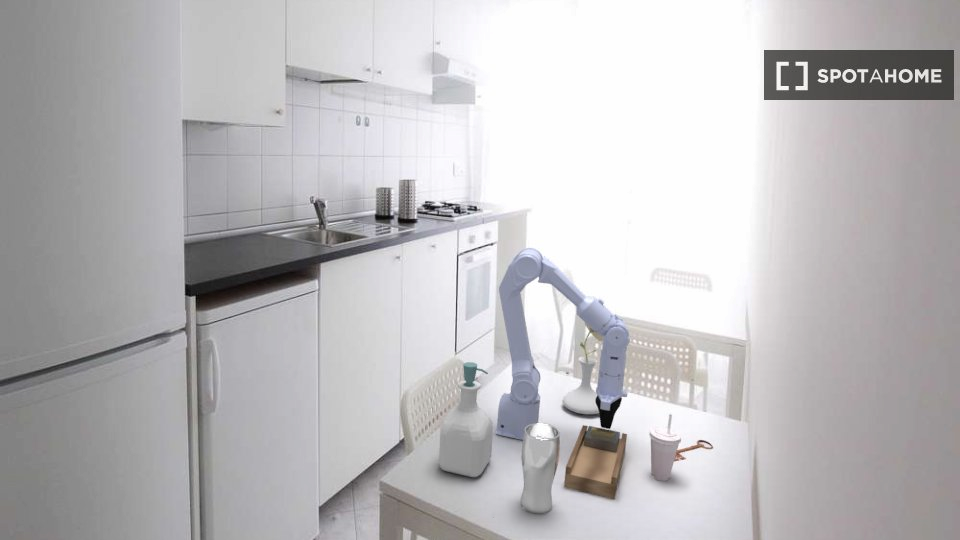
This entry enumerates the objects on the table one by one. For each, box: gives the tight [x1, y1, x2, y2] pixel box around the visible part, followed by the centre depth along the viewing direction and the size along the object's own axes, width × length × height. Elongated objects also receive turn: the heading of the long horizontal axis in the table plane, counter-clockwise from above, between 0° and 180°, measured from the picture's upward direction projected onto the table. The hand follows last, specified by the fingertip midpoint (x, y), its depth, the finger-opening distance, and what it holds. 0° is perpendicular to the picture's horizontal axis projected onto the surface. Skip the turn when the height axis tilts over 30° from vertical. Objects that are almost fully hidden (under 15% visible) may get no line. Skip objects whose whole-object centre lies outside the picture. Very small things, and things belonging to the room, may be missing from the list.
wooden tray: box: [563, 424, 628, 500], centre depth 122 cm, size 10×20×4 cm, turn 160°
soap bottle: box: [438, 361, 494, 478], centre depth 118 cm, size 10×10×23 cm
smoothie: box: [648, 413, 682, 481], centre depth 119 cm, size 6×6×14 cm
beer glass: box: [519, 422, 561, 515], centre depth 107 cm, size 7×7×15 cm
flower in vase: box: [562, 322, 603, 415], centre depth 150 cm, size 13×11×25 cm
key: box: [674, 439, 714, 463], centre depth 132 cm, size 6×1×15 cm
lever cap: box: [584, 425, 621, 452], centre depth 127 cm, size 7×6×3 cm
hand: (605, 427), depth 133 cm, fingers closed
